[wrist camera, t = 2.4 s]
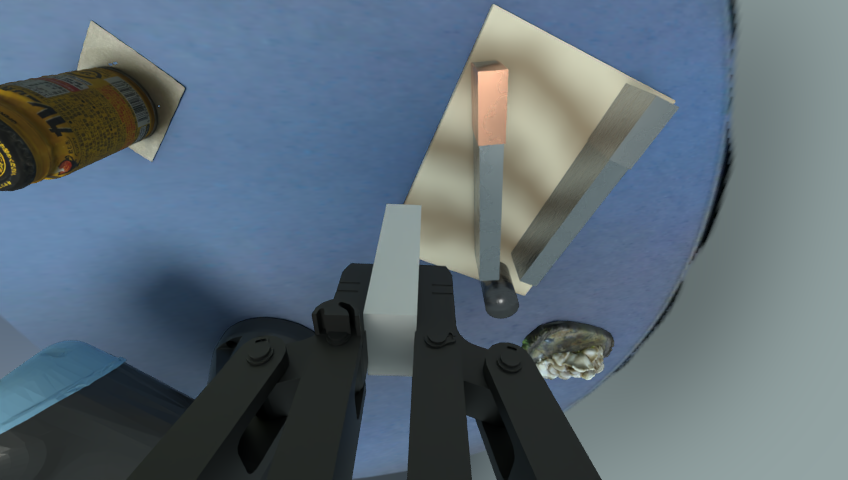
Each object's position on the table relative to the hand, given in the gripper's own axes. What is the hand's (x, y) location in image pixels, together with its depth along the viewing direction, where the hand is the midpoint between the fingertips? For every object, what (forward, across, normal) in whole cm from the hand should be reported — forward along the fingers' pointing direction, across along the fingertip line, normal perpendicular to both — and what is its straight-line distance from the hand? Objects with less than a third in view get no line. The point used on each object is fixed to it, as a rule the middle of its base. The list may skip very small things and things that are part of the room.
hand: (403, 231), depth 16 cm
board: (+18, +9, -5) cm, 21 cm away
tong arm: (+17, +6, -4) cm, 19 cm away
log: (+19, +20, -28) cm, 39 cm away
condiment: (+18, -25, +1) cm, 31 cm away
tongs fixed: (+17, +13, -7) cm, 22 cm away
